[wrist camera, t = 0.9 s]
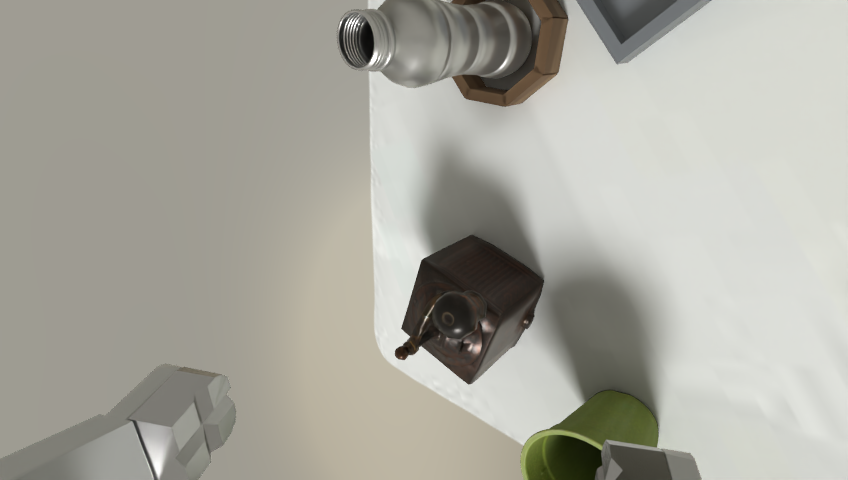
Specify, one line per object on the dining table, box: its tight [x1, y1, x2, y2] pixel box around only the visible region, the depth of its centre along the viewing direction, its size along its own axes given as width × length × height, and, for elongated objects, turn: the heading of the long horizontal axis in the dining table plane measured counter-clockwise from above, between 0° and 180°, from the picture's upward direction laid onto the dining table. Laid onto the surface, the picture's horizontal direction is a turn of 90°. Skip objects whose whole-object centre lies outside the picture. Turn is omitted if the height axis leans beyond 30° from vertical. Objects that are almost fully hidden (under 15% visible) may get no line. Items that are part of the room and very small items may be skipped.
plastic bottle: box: [337, 0, 532, 88], centre depth 38 cm, size 6×7×20 cm
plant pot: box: [521, 390, 658, 480], centre depth 46 cm, size 12×12×11 cm
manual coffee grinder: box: [395, 235, 544, 384], centre depth 48 cm, size 16×11×18 cm
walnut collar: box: [451, 0, 568, 107], centre depth 44 cm, size 11×11×3 cm
